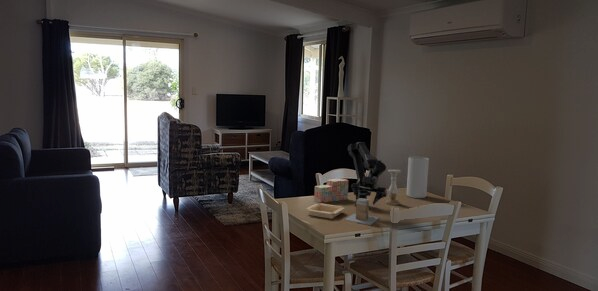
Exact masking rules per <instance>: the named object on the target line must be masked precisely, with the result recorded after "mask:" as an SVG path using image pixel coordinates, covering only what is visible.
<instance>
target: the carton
mask: <svg viewBox="0 0 598 291" xmlns="http://www.w3.org/2000/svg"><path fill="white" fill-rule="evenodd" d="M305 210H307V212H308V216H312V217H320V218H325V219H334V218H335V217H337V216H338V215H340V214H342V211H343V210H345V207H343V206H341V205H334V204H329V203H327V204H326V203H314V204H312V205H310V206H309V207H306V208H305Z"/></svg>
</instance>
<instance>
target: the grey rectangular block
mask: <svg viewBox="0 0 598 291" xmlns="http://www.w3.org/2000/svg"><path fill="white" fill-rule="evenodd" d="M369 203H370V199H369V198H367V199H362V198H359V199H358V200H357V202H356V203H355V204H356V206H355V208H356V209H355V214H356V219H359V220H366V219H368V216H369V208H370V206H369V205H370V204H369Z"/></svg>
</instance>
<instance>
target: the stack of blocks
mask: <svg viewBox="0 0 598 291" xmlns="http://www.w3.org/2000/svg"><path fill="white" fill-rule="evenodd" d="M313 196H314V197H313V200H314V202H316V203H318V204H320V203H322V204H324V203H329V202H330V203H331V202H336V201H337V202H338V201H344V200H345V201H346V200H348V199H349V198H348V197H349V180H348V179H345V178H331V179H326V184H322V185H321V184H320V185H315V186H314V194H313Z"/></svg>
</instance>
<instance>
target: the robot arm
mask: <svg viewBox="0 0 598 291" xmlns="http://www.w3.org/2000/svg"><path fill="white" fill-rule="evenodd" d="M347 152H348V154H349V156H350V157H351V158H352V160H353V164H354V168H355V174H356V178H357V181H356V183H355V182H354V183H352V184H351V191H352V193H353V195H354V196H355V202H356V203H357V200H358V199H359V198H362V199H368V197H369V196H371V194H372V193H375V196H374V198H373V200H372V206H374V205H376V203H378V202H379V200H381V199H384V198H387V196H388V191H387V189H386V188H387V187H385V186H378V182H379V178H380V176H382V174H384V173H385V171H386V169H387V166H386V165H385V163H384V162H382V160H381V159H379V160H378V158H377V157H376V156H374V155H372V154H371V152H370V150H369V149H368V147H367V146H366V142H363V141H362V142H361V141H359V142H355V143H350V144H349V145H348V146H347ZM364 168H365V169H366V170H369V172H368V174H367V175H366V172H365V170H364ZM376 187H377V188H376ZM356 203H355V204H354V207H356Z"/></svg>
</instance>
